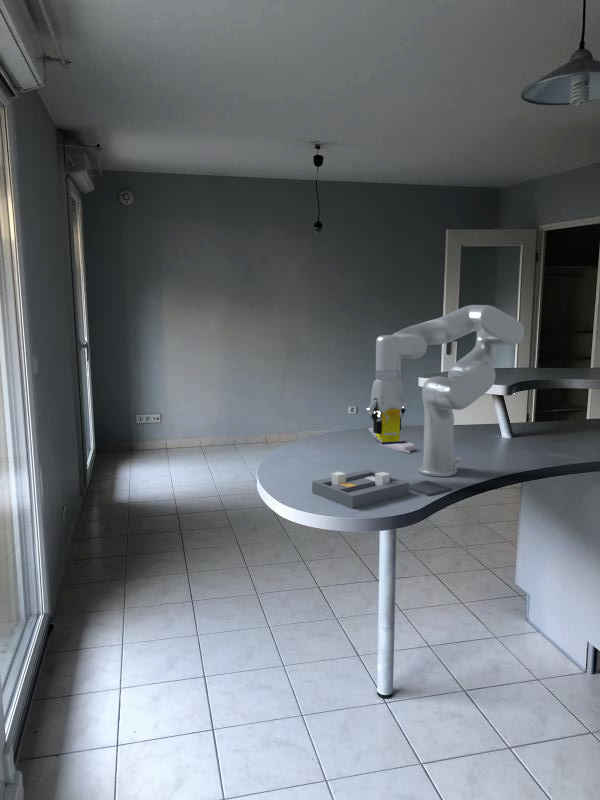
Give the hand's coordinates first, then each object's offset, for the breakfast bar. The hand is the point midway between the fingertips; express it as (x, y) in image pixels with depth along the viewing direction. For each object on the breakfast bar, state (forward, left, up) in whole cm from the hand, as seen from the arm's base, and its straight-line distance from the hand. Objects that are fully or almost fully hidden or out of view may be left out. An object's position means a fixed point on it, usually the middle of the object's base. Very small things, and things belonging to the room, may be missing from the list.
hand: (387, 431), depth 196 cm
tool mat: (-3, +14, -16) cm, 22 cm away
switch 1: (+21, +1, -13) cm, 25 cm away
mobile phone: (-34, -32, -16) cm, 50 cm away
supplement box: (0, 0, -4) cm, 4 cm away
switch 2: (+11, +9, -13) cm, 20 cm away
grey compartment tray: (+16, +5, -16) cm, 23 cm away
